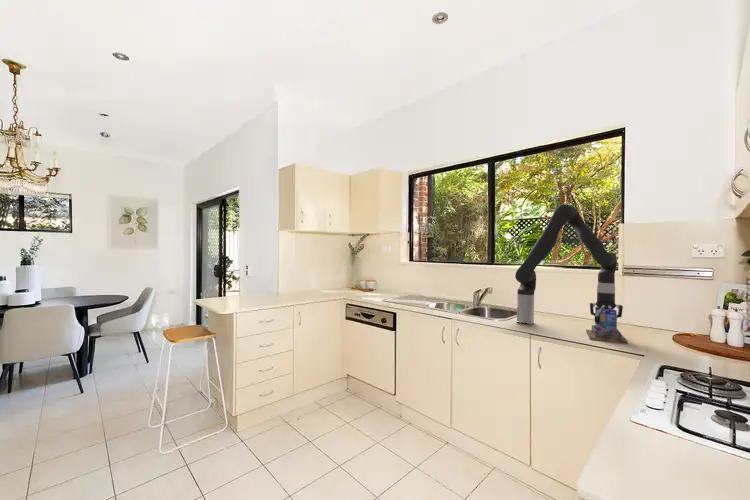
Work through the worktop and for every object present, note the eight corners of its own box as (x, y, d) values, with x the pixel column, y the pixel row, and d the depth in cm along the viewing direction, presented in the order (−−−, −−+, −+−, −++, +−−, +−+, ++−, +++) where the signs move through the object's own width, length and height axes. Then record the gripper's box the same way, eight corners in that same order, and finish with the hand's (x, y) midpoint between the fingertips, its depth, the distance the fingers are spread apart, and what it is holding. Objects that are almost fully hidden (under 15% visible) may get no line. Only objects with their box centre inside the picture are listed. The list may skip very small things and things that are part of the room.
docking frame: (590, 339, 165) (590, 331, 165) (586, 331, 181) (586, 323, 181) (627, 343, 158) (627, 335, 158) (620, 335, 174) (620, 327, 174)
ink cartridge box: (594, 329, 175) (594, 302, 175) (605, 330, 174) (606, 302, 174) (605, 334, 165) (605, 305, 165) (617, 335, 164) (617, 305, 164)
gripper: (590, 291, 169) (589, 324, 170) (625, 293, 163) (624, 327, 163) (588, 289, 176) (587, 321, 176) (621, 291, 170) (621, 324, 170)
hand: (605, 324), depth 170 cm, fingers closed on ink cartridge box, 6 cm apart
